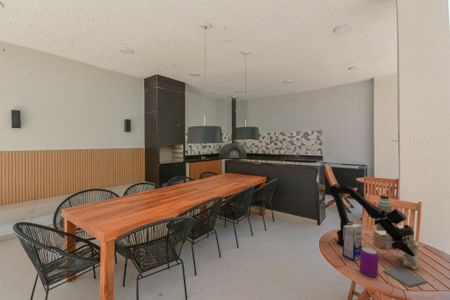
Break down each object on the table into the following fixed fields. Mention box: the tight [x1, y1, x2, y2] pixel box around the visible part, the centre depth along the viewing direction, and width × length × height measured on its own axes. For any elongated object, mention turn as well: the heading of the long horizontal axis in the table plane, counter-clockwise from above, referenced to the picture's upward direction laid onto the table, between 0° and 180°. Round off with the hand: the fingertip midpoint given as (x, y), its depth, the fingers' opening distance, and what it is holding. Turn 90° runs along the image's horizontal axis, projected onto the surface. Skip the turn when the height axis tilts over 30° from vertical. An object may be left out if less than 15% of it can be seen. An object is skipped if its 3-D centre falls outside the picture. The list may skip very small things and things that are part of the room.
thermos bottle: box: [376, 195, 392, 231], centre depth 152 cm, size 8×8×28 cm
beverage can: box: [359, 246, 379, 277], centre depth 107 cm, size 8×8×12 cm
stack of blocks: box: [373, 225, 415, 250], centre depth 134 cm, size 21×6×12 cm, turn 90°
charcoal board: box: [382, 266, 428, 288], centre depth 104 cm, size 12×12×1 cm
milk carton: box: [342, 223, 363, 262], centre depth 122 cm, size 7×7×20 cm
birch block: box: [403, 239, 419, 270], centre depth 113 cm, size 5×5×13 cm
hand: (414, 254), depth 112 cm, fingers closed on birch block, 5 cm apart
